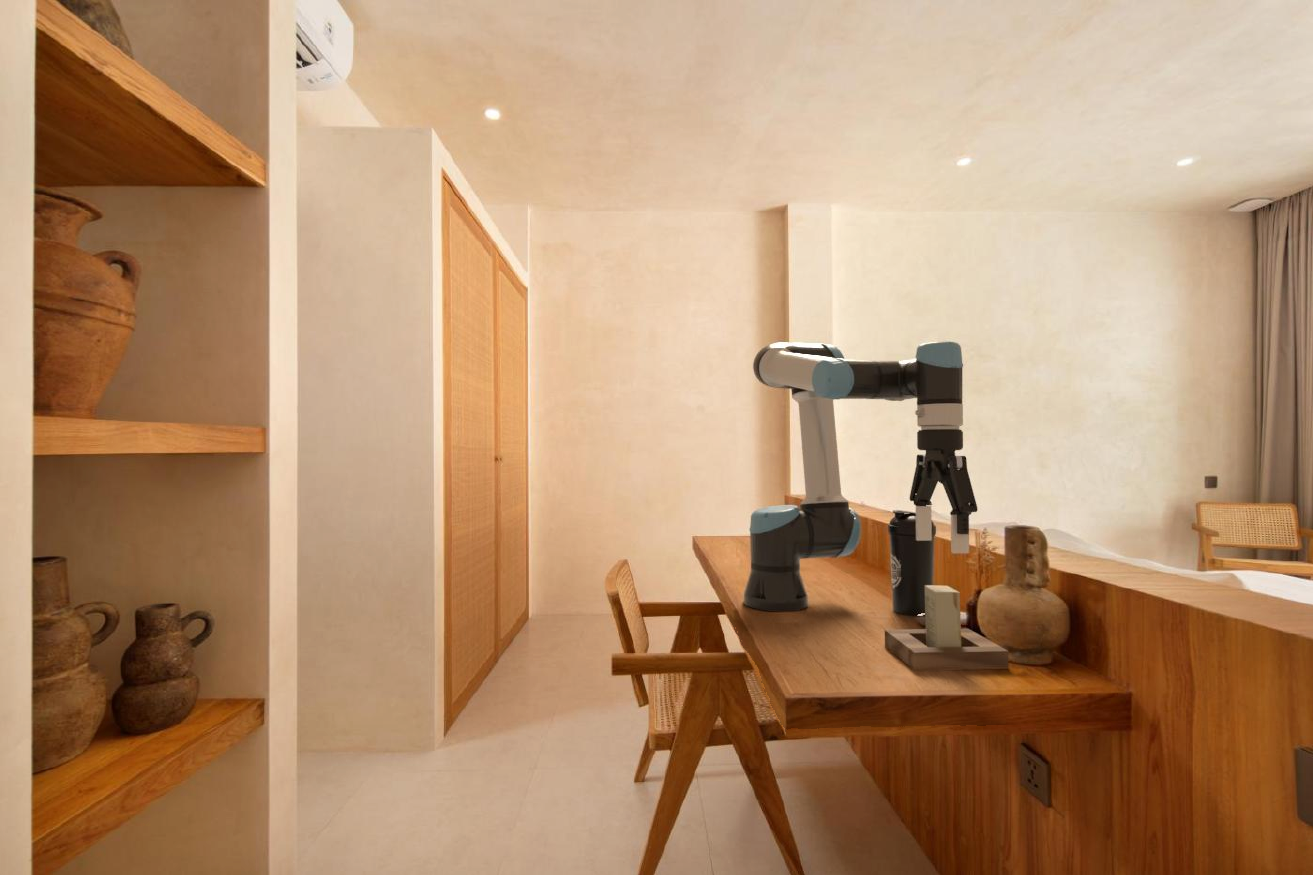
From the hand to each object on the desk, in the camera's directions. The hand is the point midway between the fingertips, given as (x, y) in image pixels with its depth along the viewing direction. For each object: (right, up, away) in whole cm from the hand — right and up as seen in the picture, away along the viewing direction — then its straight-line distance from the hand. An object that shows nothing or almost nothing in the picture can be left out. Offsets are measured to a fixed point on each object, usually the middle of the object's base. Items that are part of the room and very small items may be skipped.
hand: (940, 546), depth 111 cm
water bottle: (+7, -20, +30) cm, 37 cm away
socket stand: (0, -20, 0) cm, 20 cm away
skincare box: (0, -20, 0) cm, 20 cm away
